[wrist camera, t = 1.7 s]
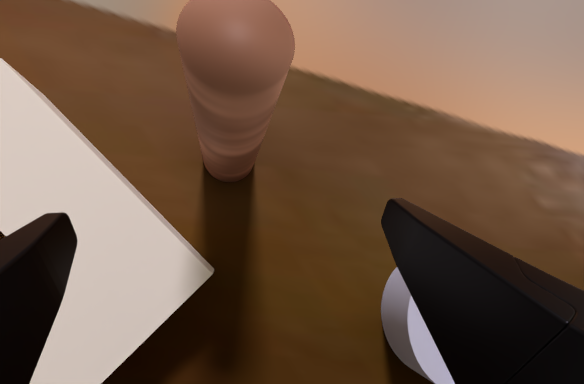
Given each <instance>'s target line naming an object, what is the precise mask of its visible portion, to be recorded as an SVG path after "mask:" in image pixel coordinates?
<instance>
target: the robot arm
mask: <svg viewBox="0 0 584 384" xmlns="http://www.w3.org/2000/svg"><path fill="white" fill-rule="evenodd" d="M381 224H382V228H383V230H384V233H385V236H386V239H387V241H388V244H389V247H390V249H391V252H392V255H393V258H394V260H395V263H396V265H397V267H398V270H399V272H400V274H401V276H402V278H403V280H404V282H405V284H406V286H407V288H408V290H409V292H410V294H411V296H412V298H413V300H414V302H415V304H416V306H417V308H418V310H419V312H420V314H421V316H422V318H423V320H424V322H425V324H426V326H427V328H428V330H429V332H430V334H431V336H432V338H433V340H434V342H435V344H436V346H437V348H438V350H439V352H440V354H441V357H442V359H443V361H444V363H445V365H446V367H447V369H448V371H449V373H450V375H451V377H452V379H453V381H454V383H455V384H584V291H583V290H581V289H579V288H577V287H575V286H573V285H571V284H568V283H566V282H564V281H562V280H560V279H558V278H556V277H554V276H552V275H550V274H548V273H546V272H544V271H542V270H540V269H538V268H536V267H534V266H532V265H530V264H528V263H526V262H524V261H522V260H520V259H518V258H516V257H513V256H512V255H510V254H508V253H507V252H505V251H503V250H501V249H499V248H497V247H495V246H493V245H491V244H489V243H487V242H485V241H483V240H481V239H480V238H478V237H476V236H474V235H472V234H470V233H468V232H466V231H464V230H462V229H460V228H458V227H456V226H454V225H453V224H451V223H449V222H447V221H445V220H443V219H441V218H439V217H437V216H435V215H433V214H431V213H429V212H428V211H426V210H424V209H422V208H420V207H418V206H416V205H414V204H412V203H410V202H408V201H406V200H404V199H402V198H395V199H390V200H389V201H388V202H387V204H386V207H385V210H384V213H383V216H382V219H381ZM76 248H77V235H76V233H75V230H74V228H73V225H72V223H71V220H70V218H69V216H68V215H67V214H66V213H64V212H58V213H46V214H44V215H42V216H40V217H39V218H37V219H35V220H33V221H32V222H30V223H28V224H27V225H25V226H23V227H21V228H20V229H18V230H16V231H15V232H13V233H11V234H9V235H8V236H6V237H4V238H2V239H1V240H0V384H29V383H30V381H31V378H32V376H33V373H34V371H35V368H36V366H37V363H38V361H39V358H40V356H41V353H42V351H43V348H44V346H45V343H46V341H47V338H48V336H49V333H50V331H51V328H52V326H53V323H54V321H55V318H56V316H57V313H58V311H59V308H60V306H61V303H62V300H63V297H64V294H65V290H66V286H67V283H68V279H69V275H70V271H71V267H72V263H73V259H74V256H75V252H76Z"/></svg>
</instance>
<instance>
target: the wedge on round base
mask: <svg viewBox="0 0 584 384" xmlns="http://www.w3.org/2000/svg"><path fill="white" fill-rule="evenodd" d="M381 317H382V324H383V329H384V332H385V336H386V338H387V340H388V343H389V345H390V347H391V348H392V350H393V352H394V353H395V354H396V355H397V357H398V358H399V359H400V360H401V361H402V362H403V363H404V364H405V365H407V366H408V367H409V368H411V369H412V370H414V371H415V372H417V373H418V374H420V375H422V376H423V377H425V378H426V379H428V380H429V381H431V382H433V383H434V384H455V383H454V381H453V379H452V377H451V375H450V373H449V371H448V369H447V367H446V365H445V363H444V361H443V359H442V357H441V354H440V352H439V350H438V348H437V346H436V344H435V342H434V340H433V338H432V336H431V334H430V332H429V330H428V328H427V326H426V324H425V322H424V320H423V318H422V316H421V314H420V312H419V310H418V308H417V306H416V304H415V302H414V300H413V298H412V296H411V294H410V292H409V290H408V288H407V286H406V284H405V282H404V280H403V278H402V276H401V274H400V272H399V270H398V267H396V269H395V270H394V271H393V272H392V274H391V276H390V277H389V279H388V281H387V283H386V286H385V289H384V292H383V297H382V304H381Z"/></svg>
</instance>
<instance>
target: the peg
mask: <svg viewBox="0 0 584 384" xmlns="http://www.w3.org/2000/svg"><path fill="white" fill-rule="evenodd" d="M176 36H177V42H178V47H179V51H180V56H181V61H182V65H183V70H184V74H185V79H186V83H187V88H188V93H189V97H190V102H191V106H192V111H193V116H194V120H195V125H196V129H197V134H198V138H199V143H200V148H201V152H202V157H203V161H204V165H205V167H206V169H207V171H208V172H209V173H210V175H212V176H213V177H214V178H216V179H217V180H220V181H223V182H236V181H239V180H241V179H243V178H245V177H246V176H247V175H248V174H249V173H250V171H251V170H252V168H253V165H254V162H255V160H256V157H257V154H258V151H259V149H260V146H261V143H262V141H263V138H264V135H265V133H266V130H267V127H268V124H269V122H270V119H271V116H272V114H273V111H274V108H275V106H276V103H277V100H278V97H279V95H280V92H281V89H282V87H283V84H284V81H285V79H286V76H287V73H288V70H289V68H290V65H291V62H292V60H293V56H294V50H295V42H294V35H293V32H292V29H291V26H290V24H289V22H288V20H287V18H286V17H285V15H284V14H283V13H282V11H281V10H280V9H279V8H278V7H277V6H276V5H275V4H274V3H272V2H271V1H270V0H190V1H189V2H188V3H187V4H186V5H185V6H184V8H183V9H182V11H181V14H180V15H179V18H178V22H177V28H176Z"/></svg>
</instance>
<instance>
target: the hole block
mask: <svg viewBox="0 0 584 384" xmlns="http://www.w3.org/2000/svg"><path fill="white" fill-rule="evenodd" d="M58 212H64V213H66V214H67V215H68V216H69V218H70V220H71V223H72V225H73V228H74V230H75V233H76V235H77V248H76V252H75V256H74V259H73V263H72V267H71V271H70V275H69V279H68V283H67V286H66V290H65V294H64V297H63V300H62V303H61V306H60V308H59V311H58V313H57V316H56V318H55V321H54V323H53V326H52V328H51V331H50V333H49V336H48V338H47V341H46V343H45V346H44V348H43V351H42V353H41V356H40V358H39V361H38V363H37V366H36V368H35V371H34V373H33V376H32V378H31V381H30V383H29V384H101V383H102V382H103V381H104V380H105V379H106V378H107V377H108V376H109V375H110V374H111V373H112V372H113V371H114V370H115V369H116V368H118V367H119V366H120V365H121V364H122V363H123V362H124V361H125V360H126V359H127V358H128V357H129V356H130V355H131V354H132V353H133V352H134V351H135V350H136V349H137V348H138V347H139V346H140V345H141V344H142V343H143V342H144V341H145V340H146V339H147V338H148V337H149V336H150V335H151V334H152V333H153V332H154V331H155V330H156V329H157V328H158V327H159V326H160V325H161V324H162V323H163V322H164V321H165V320H166V319H167V318H168V317H170V316H171V315H172V314H173V313H174V312H175V311H176V310H177V309H178V308H179V307H180V306H181V305H182V304H183V303H184V302H185V301H186V300H187V299H188V298H189V297H190V296H191V295H192V294H193V293H194V292H195V291H196V290H197V289H198V288H199V287H200V286H201V285H202V284H203V283H204V282H205V281H206V280H207V279H208V278H209V277H210V276H211V275H212V274H213V272H214V268H213V267H212V266H211V265H210V264H209V263H208V262H207V261H206V260H205V259H204V258H203V257H202V256H201V255H200V254H199V253H198V252H197V251H196V250H195V249H194V248H193V247H192V246H191V245H190V244H189V243H188V242H187V241H186V240H185V239H184V238H183V237H182V236H181V235H180V234H179V232H178V231H177V230H176V229H175V228H174V227H173V226H172V225H171V224H170V223H169V222H168V221H167V220H166V219H165V218H164V217H163V216H162V215H161V214H160V213H159V212H158V211H157V210H156V209H155V208H154V207H153V206H152V205H151V204H150V203H149V202H148V201H147V200H146V199H145V198H144V197H143V196H142V195H141V194H140V193H139V192H138V191H137V190H136V189H135V188H134V186H133V185H132V184H131V183H130V182H129V181H128V180H127V179H126V178H125V177H124V176H123V175H122V174H121V173H120V172H119V171H118V170H117V169H116V168H115V167H114V166H113V165H112V164H111V163H110V162H109V161H108V160H107V159H106V158H105V157H104V156H103V155H102V154H101V153H100V152H99V151H98V150H97V149H96V148H95V147H94V146H93V145H92V144H91V143H90V142H89V140H88V139H87V138H86V137H85V136H84V135H83V134H82V133H81V132H80V131H79V130H78V129H77V128H76V127H75V126H74V125H73V124H72V123H71V122H70V121H69V120H68V119H67V118H66V117H65V116H64V115H63V114H62V113H61V112H60V111H59V110H58V109H57V108H56V107H55V106H54V105H53V104H52V103H51V102H50V101H49V100H48V99H47V98H46V97H45V96H44V95H43V94H42V93H41V92H40V91H39V90H38V89H36V88H35V87H34V86H33V85H32V84H31V83H29V82H28V81H27V80H26V79H25V78H24V77H23V76H21V75H20V74H19V73H18V72H17V71H16V70H14V69H13V68H12V67H11V66H10V65H9V64H7V63H6V62H5V61H4V60H3V59H2V58H0V231H1V232H2V233H3V234H4V235H5V236H8V235H9V234H11V233H13V232H15V231H16V230H18V229H20V228H21V227H23V226H25V225H27V224H28V223H30V222H32V221H33V220H35V219H37V218H39V217H40V216H42V215H44V214H46V213H58Z"/></svg>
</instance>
